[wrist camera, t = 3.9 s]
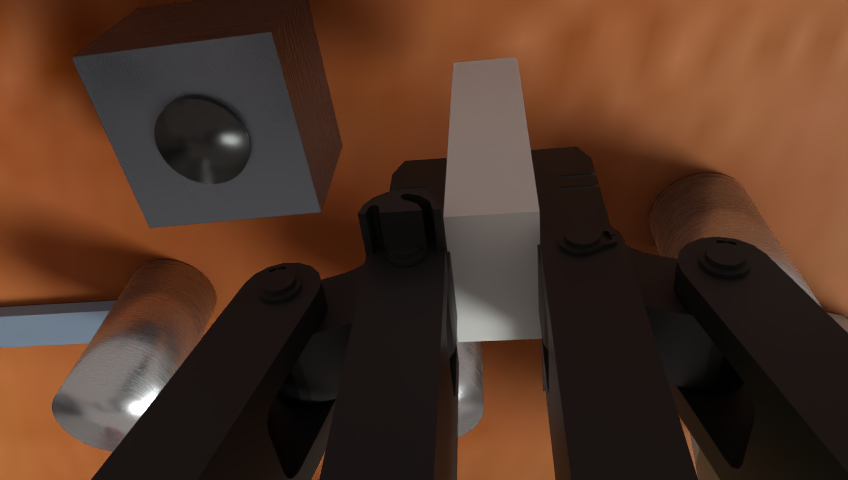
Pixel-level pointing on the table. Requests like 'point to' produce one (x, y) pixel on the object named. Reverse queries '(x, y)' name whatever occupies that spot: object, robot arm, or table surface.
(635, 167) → the table surface
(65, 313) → the blue-grey flat plate
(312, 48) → the speaker
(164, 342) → the spacers
